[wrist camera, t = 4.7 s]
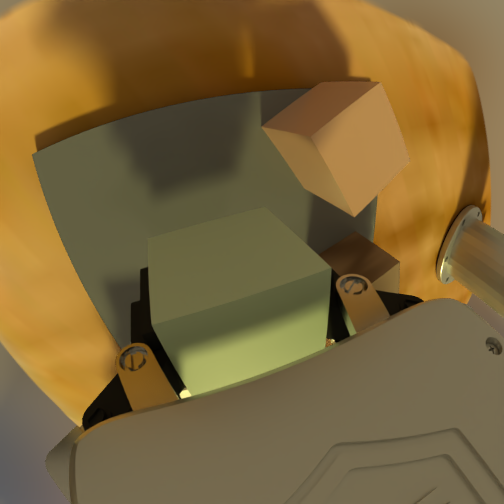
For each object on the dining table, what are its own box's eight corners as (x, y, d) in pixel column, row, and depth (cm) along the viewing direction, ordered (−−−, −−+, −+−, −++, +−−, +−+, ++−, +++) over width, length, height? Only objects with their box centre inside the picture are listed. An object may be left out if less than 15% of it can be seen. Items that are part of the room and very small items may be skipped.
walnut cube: (355, 231, 21) (399, 261, 17) (361, 273, 24) (398, 305, 20) (304, 263, 20) (344, 303, 16) (317, 304, 23) (350, 342, 19)
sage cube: (265, 206, 12) (331, 267, 7) (274, 297, 14) (322, 368, 10) (147, 238, 10) (151, 324, 6) (180, 326, 13) (202, 412, 9)
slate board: (370, 90, 16) (378, 90, 16) (358, 299, 27) (363, 303, 26) (36, 152, 11) (31, 154, 10) (147, 379, 21) (148, 386, 21)
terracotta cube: (321, 82, 14) (380, 82, 10) (354, 143, 17) (410, 160, 13) (261, 126, 14) (310, 136, 10) (303, 188, 17) (354, 217, 13)
